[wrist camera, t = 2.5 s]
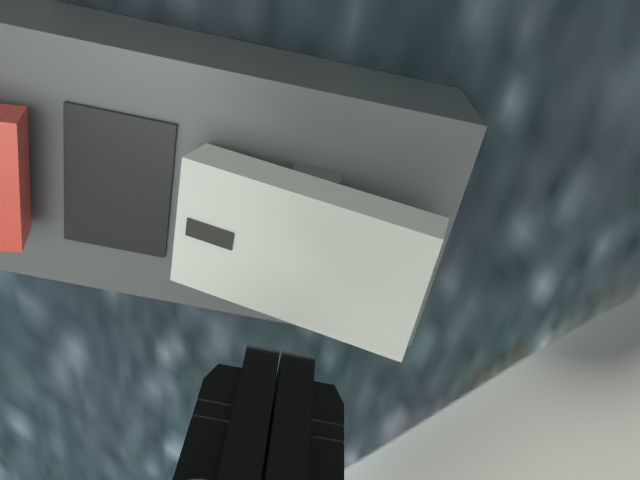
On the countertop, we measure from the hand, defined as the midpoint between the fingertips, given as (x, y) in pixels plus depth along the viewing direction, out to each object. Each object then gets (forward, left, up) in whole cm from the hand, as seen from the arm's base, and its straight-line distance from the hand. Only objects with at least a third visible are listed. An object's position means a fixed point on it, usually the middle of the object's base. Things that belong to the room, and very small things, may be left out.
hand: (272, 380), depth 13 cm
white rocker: (0, 0, -6) cm, 6 cm away
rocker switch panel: (+6, 0, -14) cm, 15 cm away
